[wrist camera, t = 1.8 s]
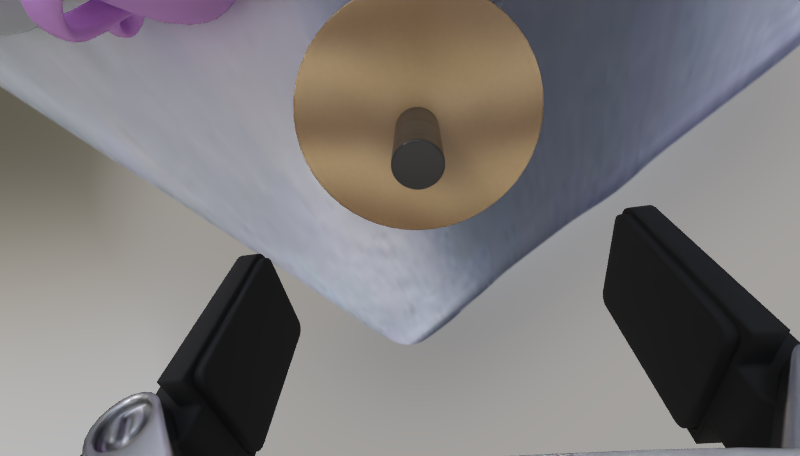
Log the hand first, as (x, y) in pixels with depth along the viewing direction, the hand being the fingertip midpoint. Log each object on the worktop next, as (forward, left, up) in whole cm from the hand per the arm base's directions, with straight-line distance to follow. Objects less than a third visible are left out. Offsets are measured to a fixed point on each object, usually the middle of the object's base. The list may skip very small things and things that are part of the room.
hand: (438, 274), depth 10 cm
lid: (0, -1, -13) cm, 13 cm away
